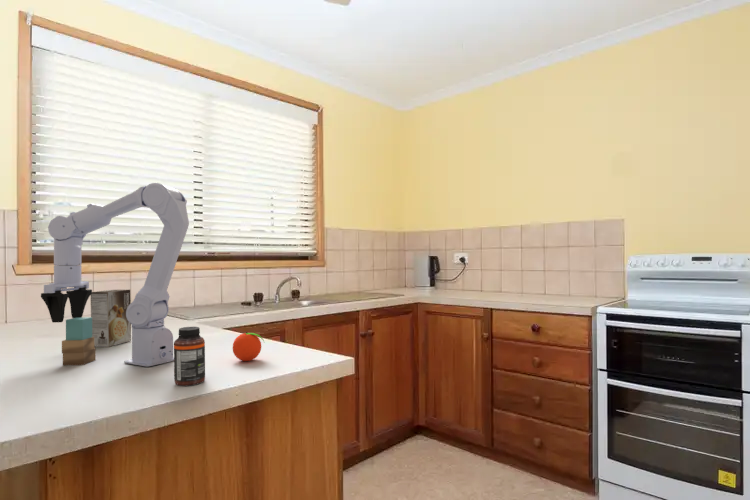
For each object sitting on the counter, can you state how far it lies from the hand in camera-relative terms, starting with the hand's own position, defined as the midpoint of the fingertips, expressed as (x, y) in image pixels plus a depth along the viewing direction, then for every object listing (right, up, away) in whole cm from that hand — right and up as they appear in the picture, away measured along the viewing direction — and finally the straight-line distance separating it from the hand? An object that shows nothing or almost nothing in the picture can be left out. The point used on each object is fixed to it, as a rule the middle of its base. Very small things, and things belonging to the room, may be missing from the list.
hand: (67, 320), depth 113 cm
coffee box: (-3, -11, +24) cm, 27 cm away
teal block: (+3, -5, 0) cm, 6 cm away
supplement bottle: (+38, -10, -19) cm, 44 cm away
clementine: (+45, -10, 0) cm, 46 cm away
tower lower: (+3, -11, 0) cm, 11 cm away
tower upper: (+3, -8, 0) cm, 8 cm away
